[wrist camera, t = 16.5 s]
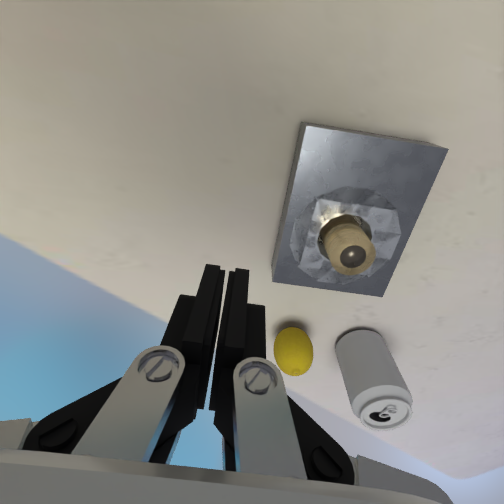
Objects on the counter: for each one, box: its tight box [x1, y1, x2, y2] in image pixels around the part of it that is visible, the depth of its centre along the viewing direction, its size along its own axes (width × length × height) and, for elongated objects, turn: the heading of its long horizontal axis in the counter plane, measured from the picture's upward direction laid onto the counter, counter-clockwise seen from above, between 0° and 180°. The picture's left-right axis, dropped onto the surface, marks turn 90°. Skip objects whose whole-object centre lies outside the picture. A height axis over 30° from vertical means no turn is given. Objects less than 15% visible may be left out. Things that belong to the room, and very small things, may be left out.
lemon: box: [274, 327, 313, 376], centre depth 42 cm, size 6×6×8 cm
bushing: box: [319, 214, 376, 275], centre depth 34 cm, size 4×4×8 cm
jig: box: [271, 122, 449, 297], centre depth 34 cm, size 18×14×4 cm
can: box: [335, 330, 413, 431], centre depth 41 cm, size 8×8×12 cm
